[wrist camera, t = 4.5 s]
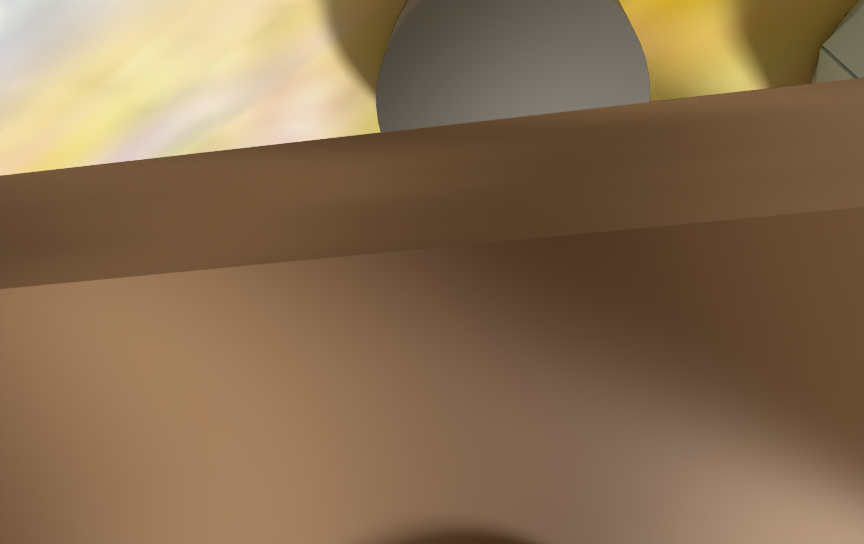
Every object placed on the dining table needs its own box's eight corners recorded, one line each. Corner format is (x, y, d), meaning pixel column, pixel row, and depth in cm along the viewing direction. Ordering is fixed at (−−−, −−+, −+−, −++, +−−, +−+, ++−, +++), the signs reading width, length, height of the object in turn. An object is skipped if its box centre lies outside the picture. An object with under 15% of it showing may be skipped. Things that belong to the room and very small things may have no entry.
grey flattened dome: (407, 192, 28) (400, 235, 26) (366, -39, 24) (352, -14, 22) (634, 170, 27) (649, 213, 25) (634, -76, 23) (651, -54, 21)
